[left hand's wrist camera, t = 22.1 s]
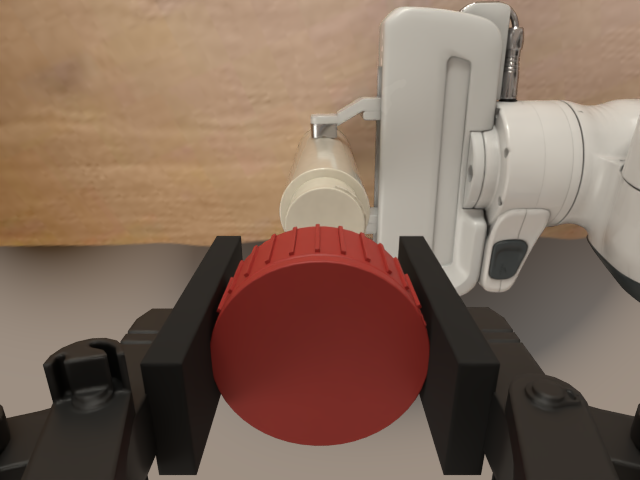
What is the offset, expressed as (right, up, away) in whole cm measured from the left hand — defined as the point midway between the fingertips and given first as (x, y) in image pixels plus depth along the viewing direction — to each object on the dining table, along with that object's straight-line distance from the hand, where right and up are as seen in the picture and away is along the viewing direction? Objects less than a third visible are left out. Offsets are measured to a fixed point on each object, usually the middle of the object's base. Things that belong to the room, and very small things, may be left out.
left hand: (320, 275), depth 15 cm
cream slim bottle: (0, +9, +23) cm, 25 cm away
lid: (0, -1, -4) cm, 4 cm away
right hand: (-1, +6, +17) cm, 18 cm away
